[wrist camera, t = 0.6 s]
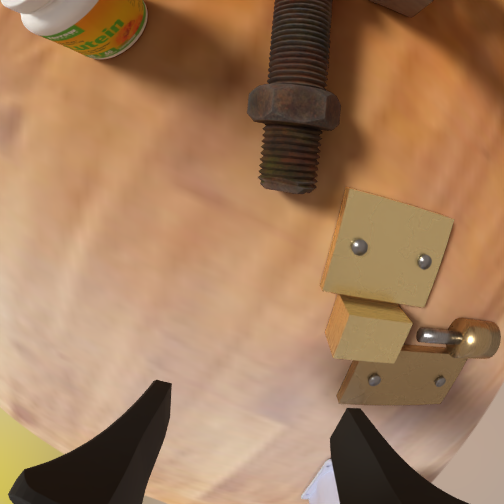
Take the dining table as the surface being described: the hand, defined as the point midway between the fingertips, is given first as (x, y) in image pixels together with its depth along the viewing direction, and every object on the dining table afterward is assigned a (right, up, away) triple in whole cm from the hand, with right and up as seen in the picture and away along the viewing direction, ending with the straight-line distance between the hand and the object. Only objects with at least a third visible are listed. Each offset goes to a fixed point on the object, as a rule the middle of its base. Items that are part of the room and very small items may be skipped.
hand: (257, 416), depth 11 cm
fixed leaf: (+14, -2, +11) cm, 18 cm away
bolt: (+2, +18, +6) cm, 19 cm away
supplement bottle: (-10, +22, +4) cm, 24 cm away
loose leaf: (+9, +5, +9) cm, 13 cm away
